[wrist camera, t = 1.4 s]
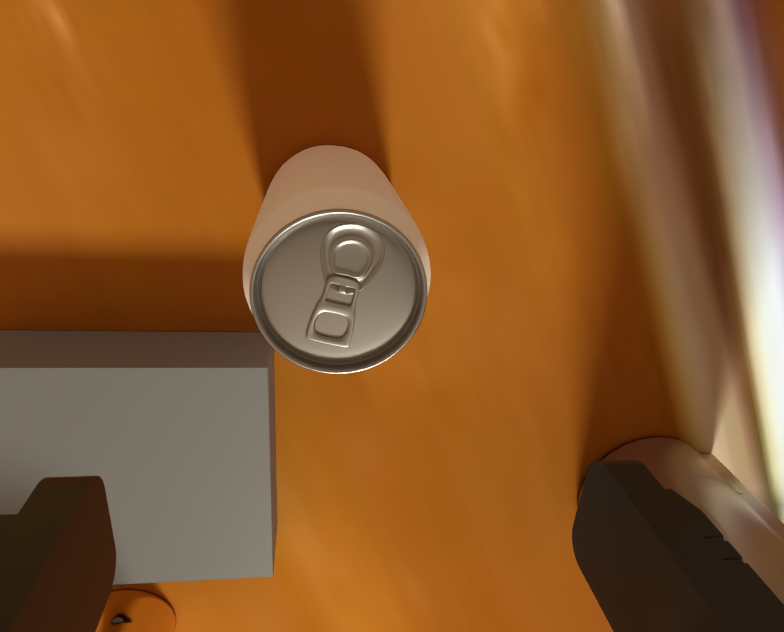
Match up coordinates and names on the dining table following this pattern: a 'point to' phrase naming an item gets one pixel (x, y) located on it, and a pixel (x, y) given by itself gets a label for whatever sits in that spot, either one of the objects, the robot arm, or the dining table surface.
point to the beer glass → (136, 613)
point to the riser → (150, 442)
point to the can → (335, 263)
